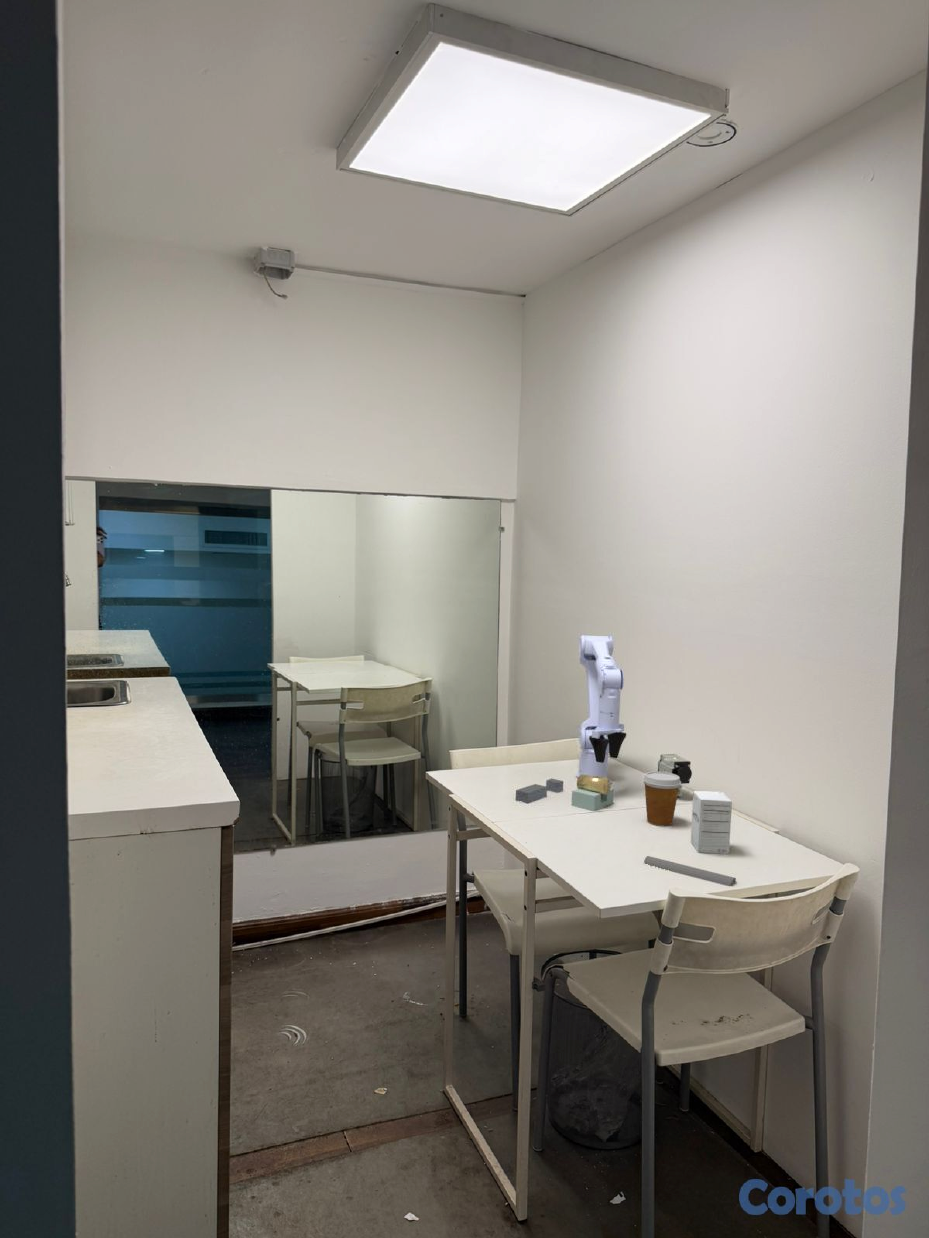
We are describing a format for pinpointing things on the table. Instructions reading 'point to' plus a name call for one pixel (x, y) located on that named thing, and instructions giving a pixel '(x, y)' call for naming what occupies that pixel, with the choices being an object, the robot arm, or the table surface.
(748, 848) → the table surface
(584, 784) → the gold rounded piece
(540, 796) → the grey rectangular blocks
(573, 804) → the v block
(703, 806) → the supplement box
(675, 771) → the pneumatic valve
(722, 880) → the half round rod
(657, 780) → the disposable coffee cup
